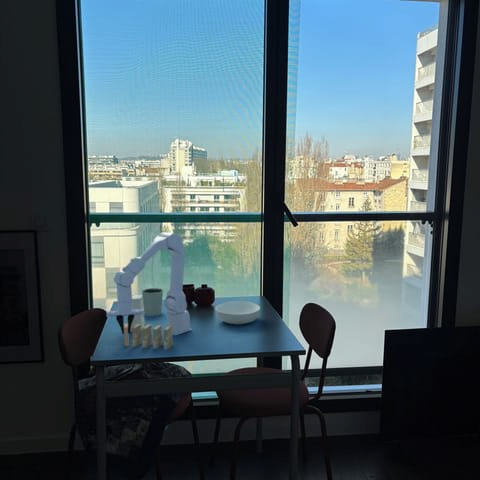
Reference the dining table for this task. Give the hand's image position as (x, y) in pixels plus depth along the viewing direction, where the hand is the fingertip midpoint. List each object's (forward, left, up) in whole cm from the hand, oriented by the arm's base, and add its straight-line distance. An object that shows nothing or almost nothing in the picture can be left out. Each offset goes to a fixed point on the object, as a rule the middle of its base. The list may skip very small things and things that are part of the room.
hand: (126, 332), depth 188 cm
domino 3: (-7, +12, -5) cm, 14 cm away
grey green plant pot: (-33, -26, -5) cm, 43 cm away
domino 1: (-2, +4, -5) cm, 7 cm away
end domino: (0, 0, -5) cm, 5 cm away
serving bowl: (-51, +15, -5) cm, 53 cm away
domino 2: (-5, +8, -5) cm, 10 cm away
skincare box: (-14, -13, -5) cm, 20 cm away
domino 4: (-9, +16, -5) cm, 19 cm away
